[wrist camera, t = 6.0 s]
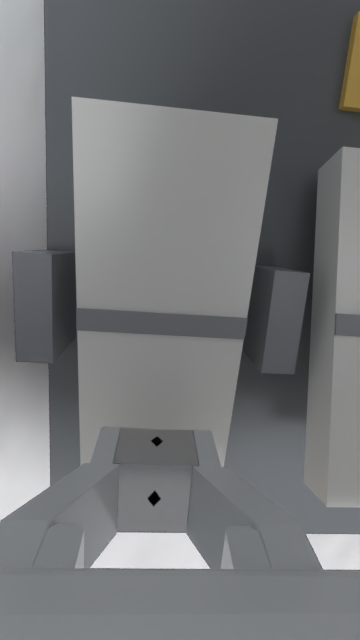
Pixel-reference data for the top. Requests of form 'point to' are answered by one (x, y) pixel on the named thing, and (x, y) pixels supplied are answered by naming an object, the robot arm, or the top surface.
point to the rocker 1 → (164, 262)
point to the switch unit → (279, 212)
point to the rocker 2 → (335, 337)
